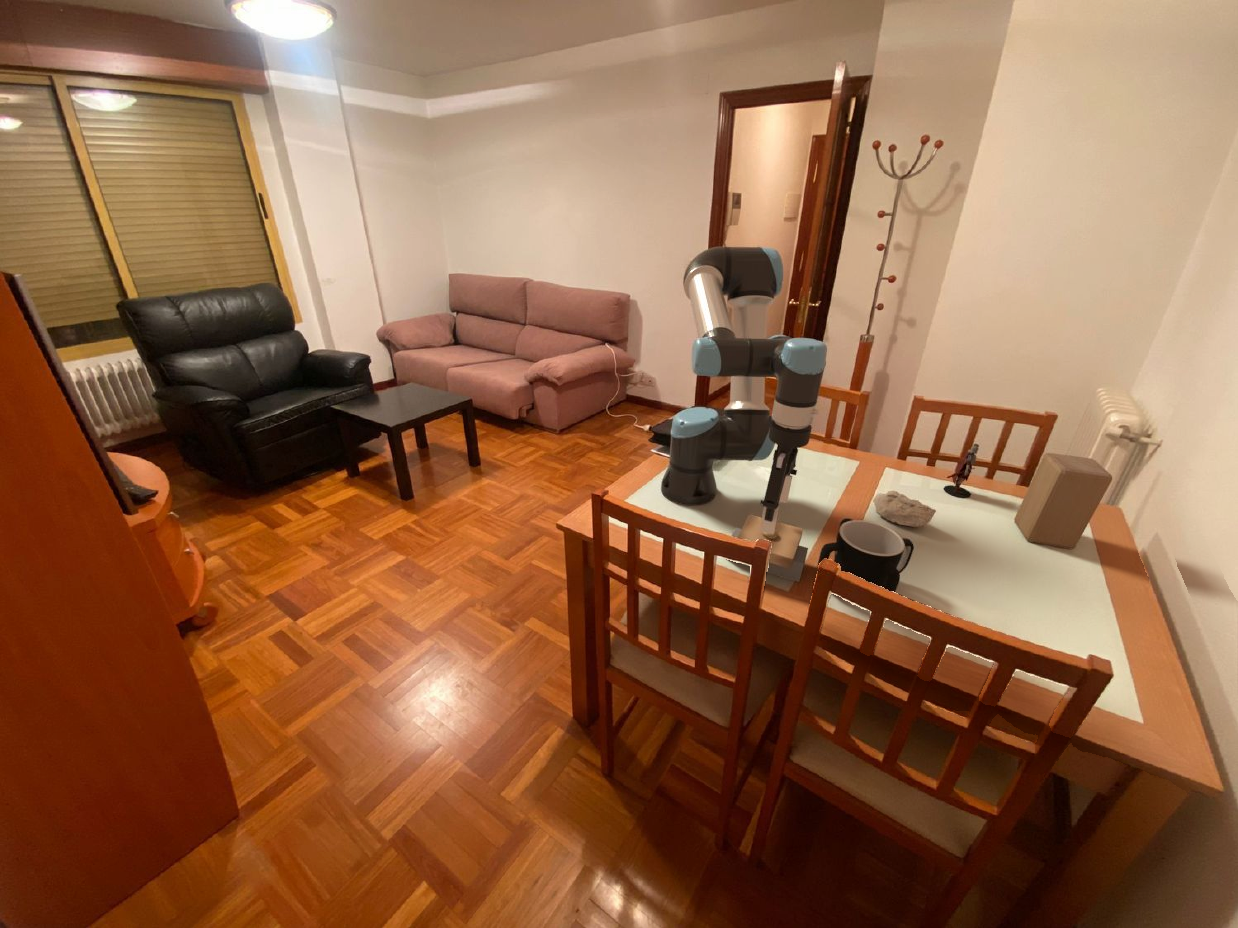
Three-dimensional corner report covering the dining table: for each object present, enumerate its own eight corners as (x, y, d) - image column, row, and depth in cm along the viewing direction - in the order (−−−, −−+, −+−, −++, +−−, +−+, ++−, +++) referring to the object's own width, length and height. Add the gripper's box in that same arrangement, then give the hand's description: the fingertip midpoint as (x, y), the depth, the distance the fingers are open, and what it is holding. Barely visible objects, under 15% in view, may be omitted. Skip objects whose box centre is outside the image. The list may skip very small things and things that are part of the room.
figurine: (971, 500, 136) (991, 451, 129) (940, 493, 139) (958, 445, 132) (970, 489, 141) (989, 442, 134) (940, 483, 144) (958, 436, 137)
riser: (725, 559, 112) (728, 541, 110) (733, 544, 117) (736, 527, 115) (799, 582, 106) (803, 563, 103) (803, 566, 110) (808, 548, 108)
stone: (899, 542, 125) (931, 521, 118) (863, 503, 130) (891, 481, 122) (912, 532, 129) (943, 511, 122) (877, 495, 134) (905, 473, 127)
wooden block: (1058, 528, 125) (1094, 457, 116) (1075, 551, 117) (1116, 477, 107) (1011, 520, 128) (1043, 450, 119) (1025, 542, 120) (1061, 469, 110)
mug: (837, 549, 116) (849, 505, 111) (910, 582, 106) (928, 537, 101) (803, 581, 106) (815, 535, 100) (881, 622, 96) (898, 573, 90)
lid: (733, 551, 107) (735, 538, 105) (748, 523, 116) (750, 510, 115) (790, 568, 102) (793, 555, 100) (801, 538, 111) (804, 525, 110)
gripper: (800, 450, 84) (780, 552, 94) (821, 405, 104) (802, 493, 113) (756, 441, 87) (740, 541, 97) (784, 399, 107) (769, 485, 116)
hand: (774, 515), depth 105 cm, fingers open, 13 cm apart
